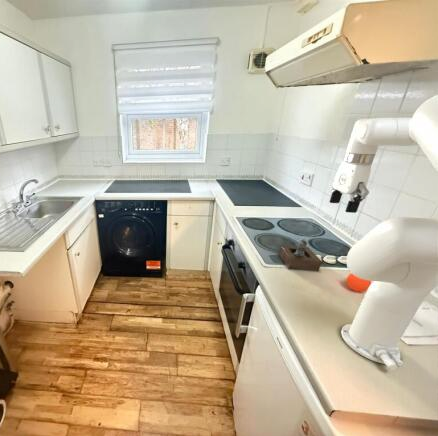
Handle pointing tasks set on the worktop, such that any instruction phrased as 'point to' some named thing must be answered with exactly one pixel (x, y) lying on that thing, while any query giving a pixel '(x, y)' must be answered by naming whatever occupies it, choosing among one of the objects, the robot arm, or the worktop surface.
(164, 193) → the worktop surface
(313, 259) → the socket
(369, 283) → the clementine
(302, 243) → the grey tiered tall piece
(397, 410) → the worktop surface
